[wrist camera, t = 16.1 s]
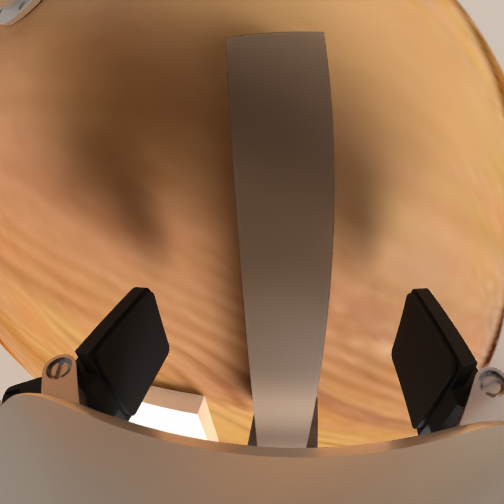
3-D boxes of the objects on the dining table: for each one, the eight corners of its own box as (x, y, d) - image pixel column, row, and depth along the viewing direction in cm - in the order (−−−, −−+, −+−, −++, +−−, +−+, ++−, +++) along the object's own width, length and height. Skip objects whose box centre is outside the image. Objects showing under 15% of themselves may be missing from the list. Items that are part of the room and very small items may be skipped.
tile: (104, 390, 17) (150, 457, 21) (197, 414, 16) (222, 474, 20) (116, 372, 19) (157, 442, 23) (205, 391, 18) (226, 457, 22)
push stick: (235, 82, 10) (194, 42, 5) (331, 79, 9) (355, 34, 5) (257, 403, 17) (245, 464, 12) (316, 405, 16) (315, 467, 11)
